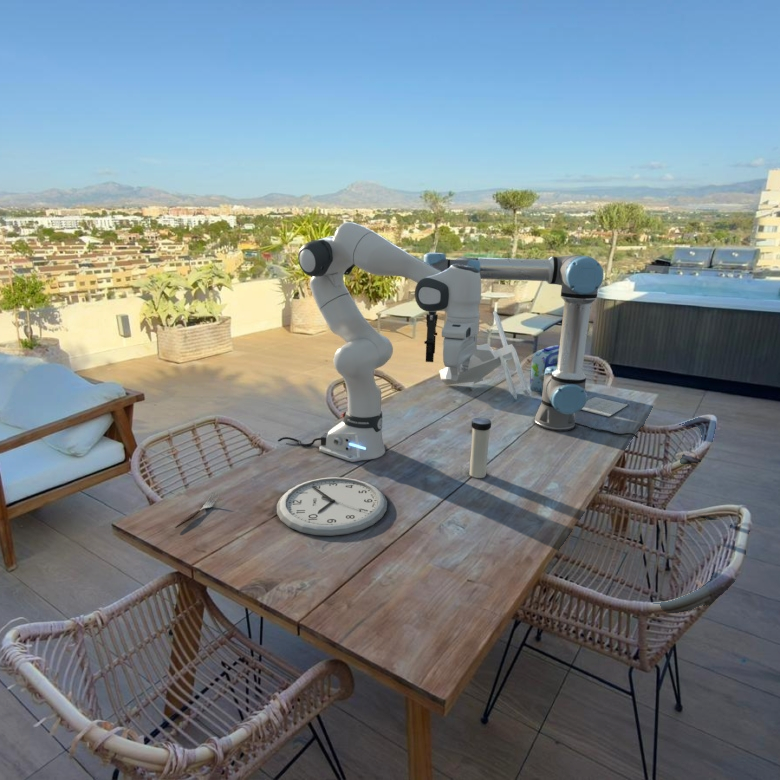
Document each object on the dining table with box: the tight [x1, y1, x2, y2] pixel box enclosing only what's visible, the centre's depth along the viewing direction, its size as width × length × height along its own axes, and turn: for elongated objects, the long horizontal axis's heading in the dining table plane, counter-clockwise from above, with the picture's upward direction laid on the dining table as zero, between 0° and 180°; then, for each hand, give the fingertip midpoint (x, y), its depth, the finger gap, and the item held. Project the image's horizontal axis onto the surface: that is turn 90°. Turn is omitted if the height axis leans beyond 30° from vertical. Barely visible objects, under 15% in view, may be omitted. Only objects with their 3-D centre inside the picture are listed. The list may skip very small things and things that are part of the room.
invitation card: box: [580, 396, 629, 418], centre depth 226 cm, size 21×1×15 cm
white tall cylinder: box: [468, 427, 490, 479], centre depth 160 cm, size 5×5×17 cm
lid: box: [470, 417, 492, 431], centre depth 157 cm, size 6×6×2 cm
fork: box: [174, 492, 220, 529], centre depth 137 cm, size 3×16×2 cm, turn 160°
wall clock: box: [276, 476, 388, 537], centre depth 142 cm, size 30×2×30 cm
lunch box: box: [529, 345, 560, 394], centre depth 245 cm, size 26×11×21 cm, turn 134°
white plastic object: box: [438, 310, 531, 400], centre depth 245 cm, size 37×45×31 cm
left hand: (460, 376), depth 144 cm, fingers open, 8 cm apart
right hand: (430, 357), depth 190 cm, fingers open, 13 cm apart
